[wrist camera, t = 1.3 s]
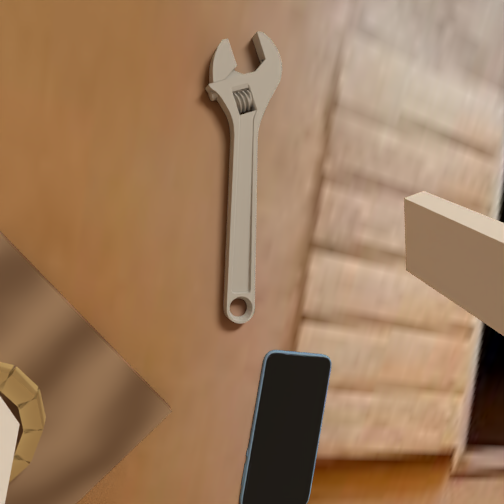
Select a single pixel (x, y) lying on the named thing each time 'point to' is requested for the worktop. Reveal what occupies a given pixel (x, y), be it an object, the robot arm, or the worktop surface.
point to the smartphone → (285, 428)
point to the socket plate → (63, 391)
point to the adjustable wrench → (242, 159)
